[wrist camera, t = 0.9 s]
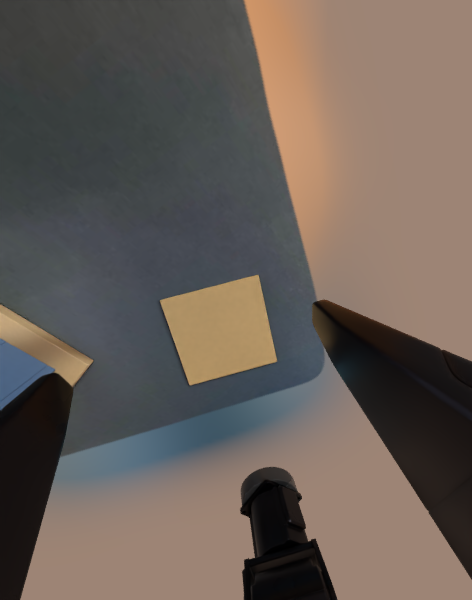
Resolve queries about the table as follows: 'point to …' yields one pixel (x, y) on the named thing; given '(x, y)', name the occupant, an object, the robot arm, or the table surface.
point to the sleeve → (17, 371)
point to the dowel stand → (43, 346)
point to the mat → (220, 329)
